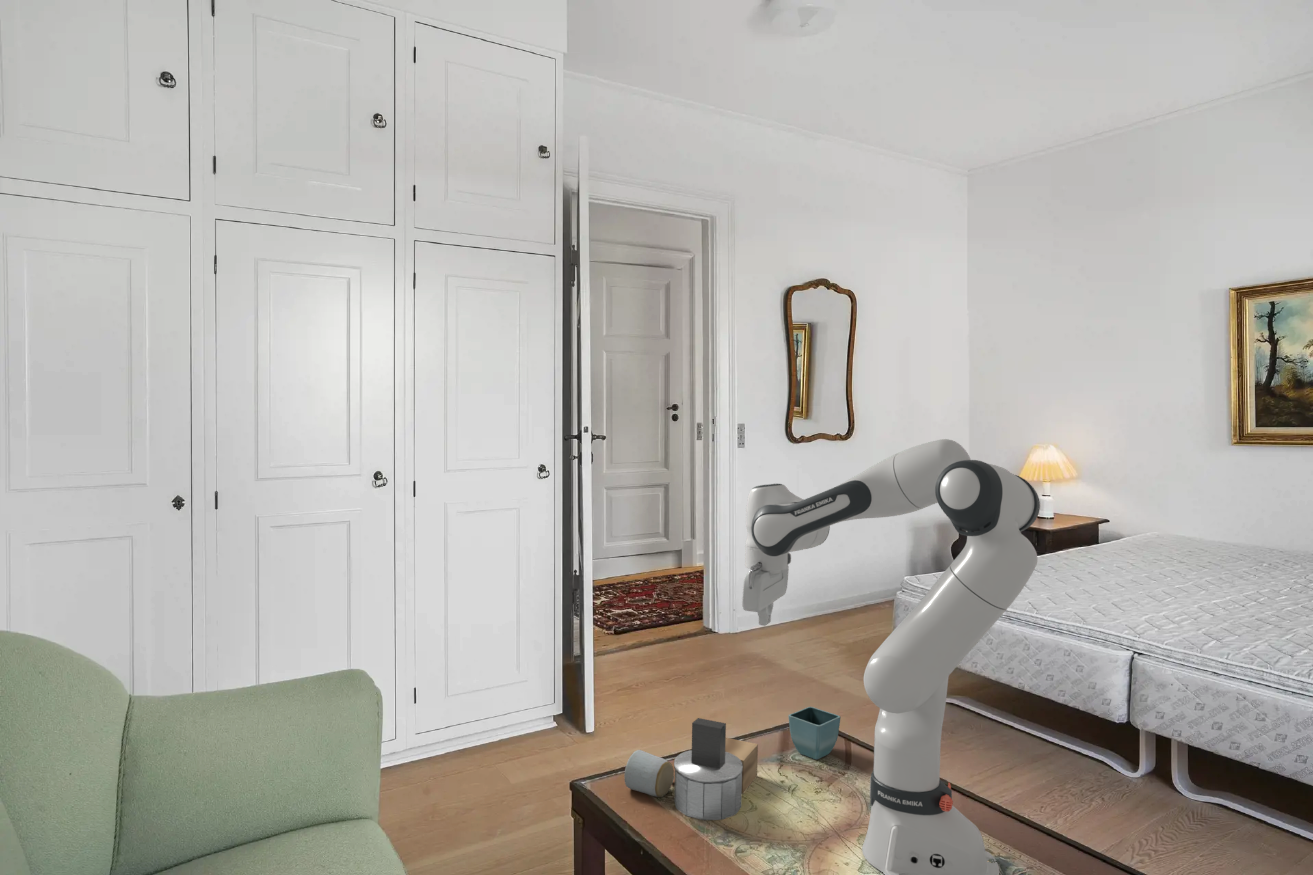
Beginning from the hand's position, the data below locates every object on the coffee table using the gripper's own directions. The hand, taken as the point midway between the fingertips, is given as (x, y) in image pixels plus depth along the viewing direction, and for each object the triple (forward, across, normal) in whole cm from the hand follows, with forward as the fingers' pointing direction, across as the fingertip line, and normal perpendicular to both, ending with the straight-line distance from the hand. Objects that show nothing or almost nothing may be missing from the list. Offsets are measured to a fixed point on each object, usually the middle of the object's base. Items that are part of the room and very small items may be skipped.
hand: (764, 623), depth 167 cm
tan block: (+33, -4, +6) cm, 34 cm away
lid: (+26, -16, +6) cm, 31 cm away
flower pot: (+33, +17, -7) cm, 38 cm away
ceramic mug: (+33, -16, +19) cm, 41 cm away
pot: (+33, -16, +6) cm, 37 cm away
